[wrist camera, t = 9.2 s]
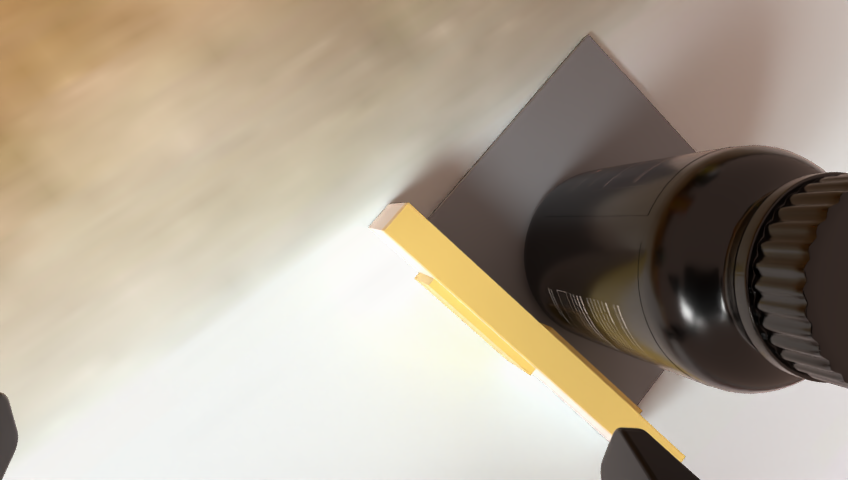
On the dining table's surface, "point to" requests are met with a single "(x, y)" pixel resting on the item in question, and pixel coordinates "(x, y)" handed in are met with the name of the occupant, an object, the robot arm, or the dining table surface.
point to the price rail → (508, 323)
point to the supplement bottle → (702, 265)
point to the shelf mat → (557, 181)
